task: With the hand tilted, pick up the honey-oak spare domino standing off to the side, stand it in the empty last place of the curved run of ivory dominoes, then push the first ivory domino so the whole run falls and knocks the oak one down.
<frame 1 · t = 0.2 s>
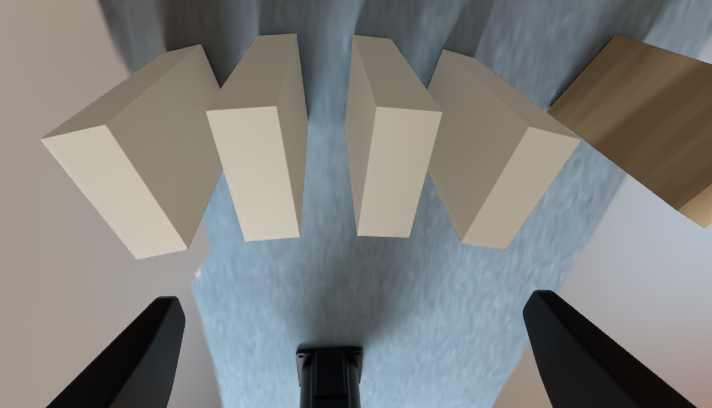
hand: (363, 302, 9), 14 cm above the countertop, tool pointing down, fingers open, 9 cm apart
domino 1: (204, 95, 20), on the countertop
spare domino: (590, 83, 21), on the countertop
domino 3: (366, 84, 20), on the countertop
domino 2: (284, 83, 20), on the countertop
domino 4: (441, 97, 21), on the countertop
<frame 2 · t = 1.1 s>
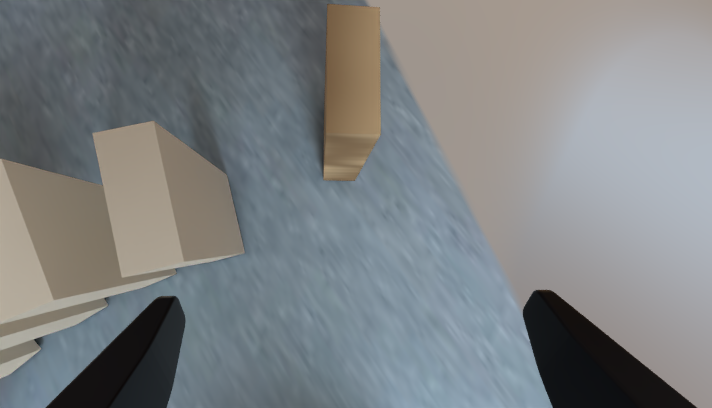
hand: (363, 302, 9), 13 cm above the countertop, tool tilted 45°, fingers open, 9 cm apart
spare domino: (339, 142, 23), on the countertop
domino 3: (144, 241, 21), on the countertop
domino 2: (70, 278, 21), on the countertop
domino 4: (219, 217, 22), on the countertop
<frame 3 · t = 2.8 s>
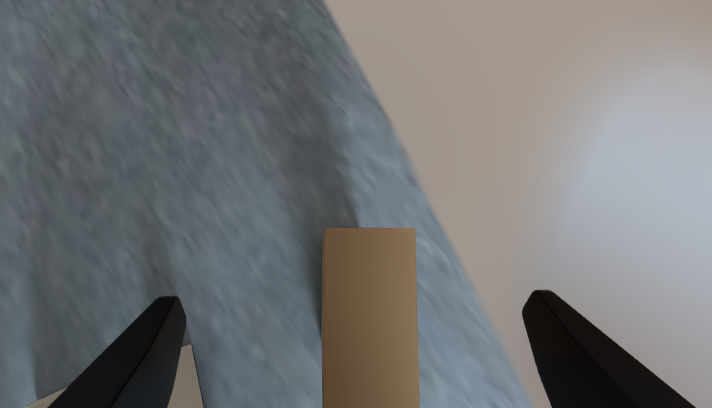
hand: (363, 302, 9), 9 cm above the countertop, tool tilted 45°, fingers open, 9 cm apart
spare domino: (342, 291, 17), on the countertop
domino 4: (179, 407, 16), on the countertop, touching gripper
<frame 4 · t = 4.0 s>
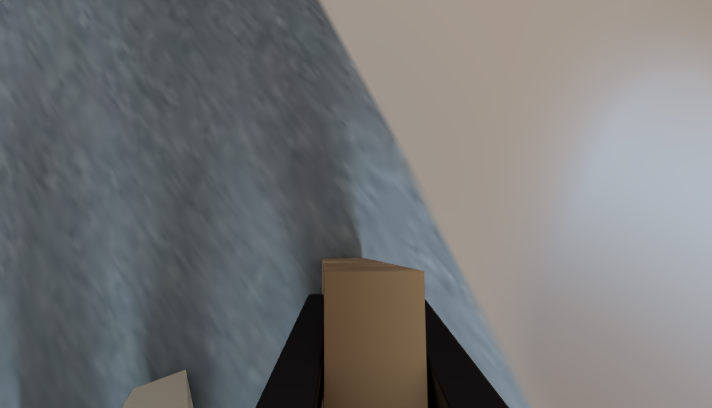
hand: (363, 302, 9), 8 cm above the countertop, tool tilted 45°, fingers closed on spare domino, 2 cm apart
spare domino: (343, 312, 17), on the countertop, touching gripper
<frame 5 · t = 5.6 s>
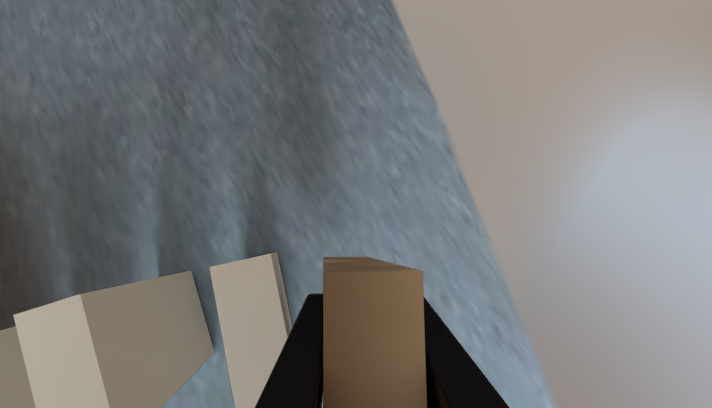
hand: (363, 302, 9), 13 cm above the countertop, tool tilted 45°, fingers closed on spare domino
spare domino: (345, 310, 17), point 5 cm above the countertop, touching gripper
domino 3: (185, 316, 21), on the countertop
domino 2: (108, 349, 20), on the countertop
domino 4: (268, 296, 22), on the countertop, tilted 6°
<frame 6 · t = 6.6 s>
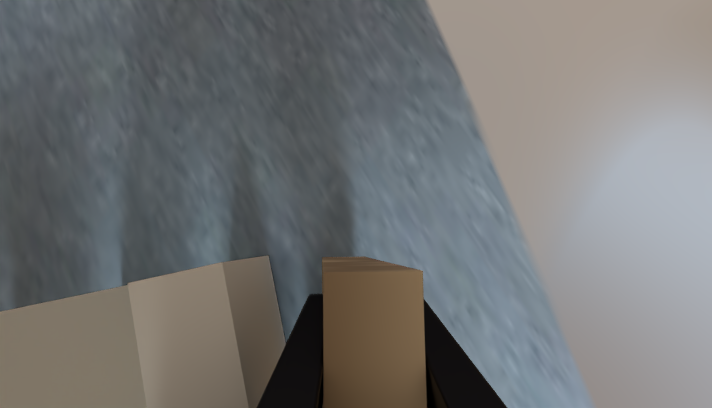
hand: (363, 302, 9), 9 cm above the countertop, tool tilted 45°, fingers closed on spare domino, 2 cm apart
spare domino: (343, 310, 17), point 1 cm above the countertop, touching gripper
domino 3: (154, 335, 17), on the countertop
domino 4: (257, 310, 18), on the countertop, touching gripper
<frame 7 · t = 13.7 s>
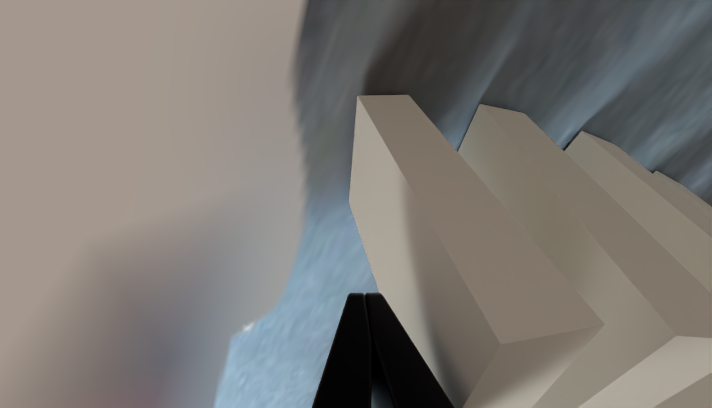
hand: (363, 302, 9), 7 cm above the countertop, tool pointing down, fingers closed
domino 1: (376, 153, 15), on the countertop, tilted 9°
domino 3: (558, 182, 17), on the countertop
domino 2: (475, 161, 16), on the countertop
domino 4: (624, 214, 18), on the countertop
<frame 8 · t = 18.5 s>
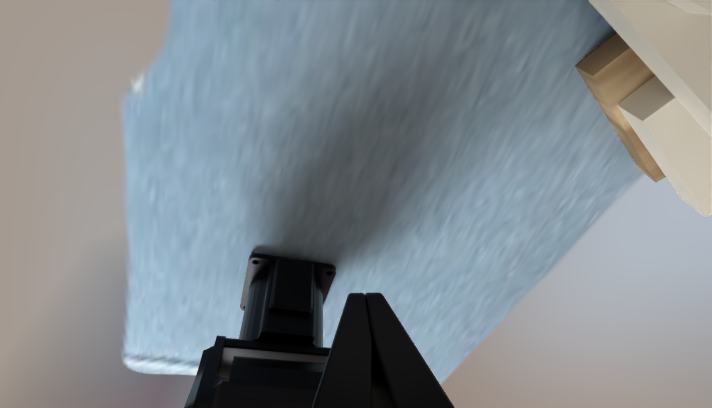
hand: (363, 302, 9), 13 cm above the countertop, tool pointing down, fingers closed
spare domino: (629, 31, 18), on the countertop, tilted 90°, touching domino 4
domino 4: (680, 75, 17), point 2 cm above the countertop, tilted 89°, touching domino 3, spare domino
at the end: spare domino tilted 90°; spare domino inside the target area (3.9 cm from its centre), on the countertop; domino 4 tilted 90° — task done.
